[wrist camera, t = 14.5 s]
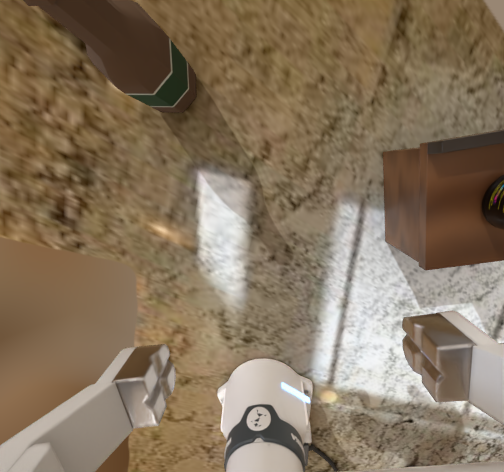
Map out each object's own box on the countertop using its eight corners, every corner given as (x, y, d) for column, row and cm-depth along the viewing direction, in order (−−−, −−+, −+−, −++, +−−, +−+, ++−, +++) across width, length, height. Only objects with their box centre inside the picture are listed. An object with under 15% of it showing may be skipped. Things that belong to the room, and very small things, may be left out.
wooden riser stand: (503, 227, 40) (613, 257, 27) (385, 244, 42) (438, 278, 29) (513, 126, 36) (647, 106, 24) (382, 148, 38) (442, 140, 25)
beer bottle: (207, 69, 36) (104, -101, 13) (188, 124, 38) (72, 63, 15) (155, 45, 35) (-49, -179, 12) (139, 102, 37) (-61, 2, 14)
